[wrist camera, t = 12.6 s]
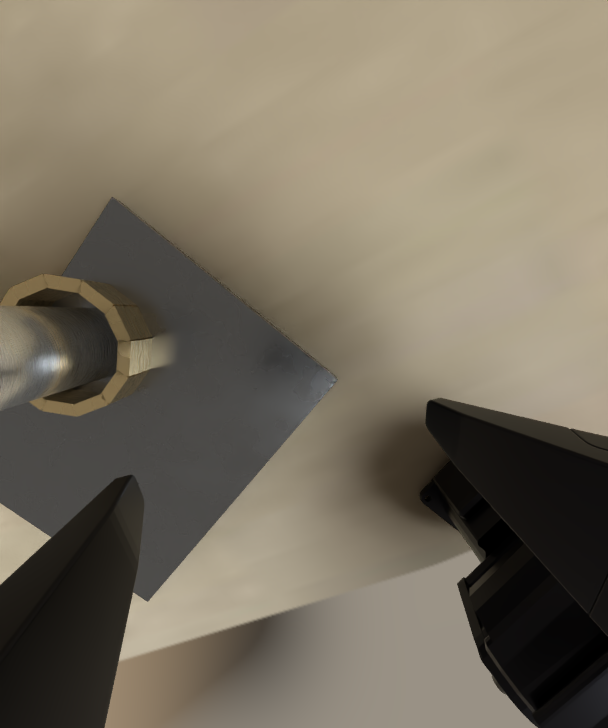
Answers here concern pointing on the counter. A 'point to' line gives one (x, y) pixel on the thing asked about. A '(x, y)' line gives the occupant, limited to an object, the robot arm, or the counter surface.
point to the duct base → (155, 396)
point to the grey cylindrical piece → (52, 351)
